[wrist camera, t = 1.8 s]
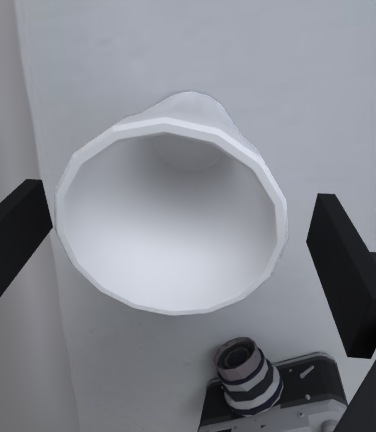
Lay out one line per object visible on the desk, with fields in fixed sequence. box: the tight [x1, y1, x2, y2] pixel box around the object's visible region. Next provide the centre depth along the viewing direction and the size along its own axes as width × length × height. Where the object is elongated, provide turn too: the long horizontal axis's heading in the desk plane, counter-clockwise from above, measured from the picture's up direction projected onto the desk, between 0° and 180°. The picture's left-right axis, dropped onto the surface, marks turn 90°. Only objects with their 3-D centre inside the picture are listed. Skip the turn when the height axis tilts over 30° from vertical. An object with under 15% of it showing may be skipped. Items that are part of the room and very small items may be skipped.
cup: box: [54, 91, 288, 316], centre depth 20 cm, size 10×10×13 cm
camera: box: [198, 337, 348, 432], centre depth 35 cm, size 16×9×10 cm, turn 120°
